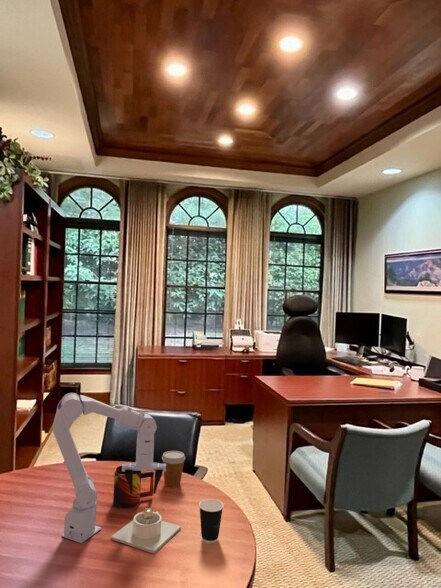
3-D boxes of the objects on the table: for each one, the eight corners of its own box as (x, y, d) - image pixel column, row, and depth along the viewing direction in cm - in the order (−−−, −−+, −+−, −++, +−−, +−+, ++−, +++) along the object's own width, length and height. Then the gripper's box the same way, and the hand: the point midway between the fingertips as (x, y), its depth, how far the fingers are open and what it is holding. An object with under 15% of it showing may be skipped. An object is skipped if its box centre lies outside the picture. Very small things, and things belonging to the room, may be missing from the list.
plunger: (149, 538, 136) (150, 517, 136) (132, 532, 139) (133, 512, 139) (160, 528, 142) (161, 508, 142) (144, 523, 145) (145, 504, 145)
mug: (153, 498, 165) (155, 466, 165) (124, 511, 154) (126, 477, 154) (136, 490, 171) (138, 459, 171) (107, 502, 160) (109, 469, 160)
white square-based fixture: (154, 553, 130) (155, 536, 130) (110, 539, 136) (111, 522, 136) (181, 528, 144) (181, 513, 144) (140, 516, 151) (141, 502, 151)
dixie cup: (223, 546, 135) (224, 510, 135) (197, 546, 135) (199, 510, 135) (221, 532, 143) (222, 499, 143) (196, 532, 142) (198, 498, 143)
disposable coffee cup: (157, 481, 180) (159, 451, 180) (179, 477, 184) (180, 449, 184) (164, 490, 172) (166, 460, 172) (187, 487, 176) (188, 457, 176)
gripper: (166, 447, 151) (165, 487, 151) (124, 447, 150) (122, 487, 150) (166, 455, 144) (164, 496, 144) (121, 454, 143) (119, 496, 143)
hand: (143, 492), depth 147 cm, fingers open, 7 cm apart
